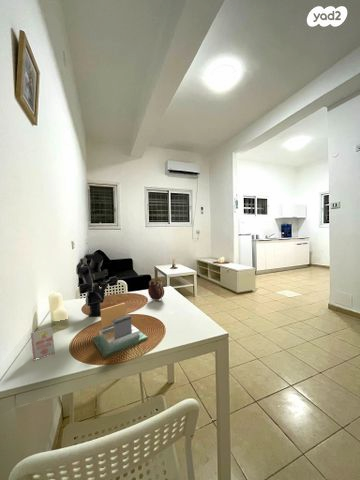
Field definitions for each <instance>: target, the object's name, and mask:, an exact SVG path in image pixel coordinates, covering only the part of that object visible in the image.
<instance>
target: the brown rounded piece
mask: <svg viewBox="0 0 360 480" xmlns="http://www.w3.org/2000/svg"><path fill="white" fill-rule="evenodd" d="M153 279H155V280H158V281H155V280H153ZM147 291H148V296H149V297H150V299H151V300H153V301H158V302H160V300H163V299H162V298H163V297H164V295H165V287H164V286H163V282H162V281H161V280H160V279H159V278H158V277H153V278H151V280H149V282H148V289H147Z"/></svg>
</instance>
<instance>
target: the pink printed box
mask: <svg viewBox="0 0 360 480" xmlns="http://www.w3.org/2000/svg"><path fill="white" fill-rule="evenodd" d="M30 336H31V348H32V349H31V350H32V359H33V361H34V359H36V358H40V359H42V358H41V357H43V358H45V357H44V356H46V357H48V356H47V355H49V356H51V355H50V354H52V355H54V354H55V342H54V332H53V326H52V327H51V326H50V327H47V328H44V329H41V330H37V331H33V332H31V333H30ZM53 353H54V354H53Z"/></svg>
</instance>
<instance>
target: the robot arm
mask: <svg viewBox="0 0 360 480" xmlns="http://www.w3.org/2000/svg"><path fill="white" fill-rule="evenodd" d="M103 261H104V256H103V255H102V254H100V253H98V252H97V251H96V252H93V253H87V254H86V253H85V255H84V257H82V258H80V259H79V262H78V263H77V264H76V271H75V272H76V275H77V276H78V278H79V279H82V281H83V283H81V284H79V286H78V291H79V294H80V295H83V294H86V296H85V305H86V306H87V307H89V313H88V318H89V317H94V316H101V311H100V310H101V303H104V300H105V293H106V292H105V291H106V289H108V286H109V287H115V286H116V285H117V284H118V282H119V278H118V277H117V276H116V275H115V276H110V277H109V278H108V280H106V276H108V275H109V271H108V269H106V268H105V269H103V270H101V267H102V265H103ZM82 265H86V266H82Z"/></svg>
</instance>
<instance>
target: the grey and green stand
mask: <svg viewBox="0 0 360 480" xmlns="http://www.w3.org/2000/svg"><path fill="white" fill-rule="evenodd" d="M112 323H113V324H114V327H111V328H108V329H105V330H102V329H101V330H99V335H97V336H94V337H92V342H93V343H94V344H95V346H96V347H97V349H98V351H99V352H100V354H101V355H102V357H104V359H106V358H108V357H110V356H112V355H115V354H117V353H119V352H121V351H124V350H126V349H128V348H130V347H133V346H134V345H137V344H139V343H142V342H144V341H146V340H148V336H147V335H146V334H144V333H143V332H142V331H140V329H138V328H137V327H135V326H134V325H133V324H132V316H131V315H129V314H126V316H123V317H120V318H117V319H114V320H112Z"/></svg>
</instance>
